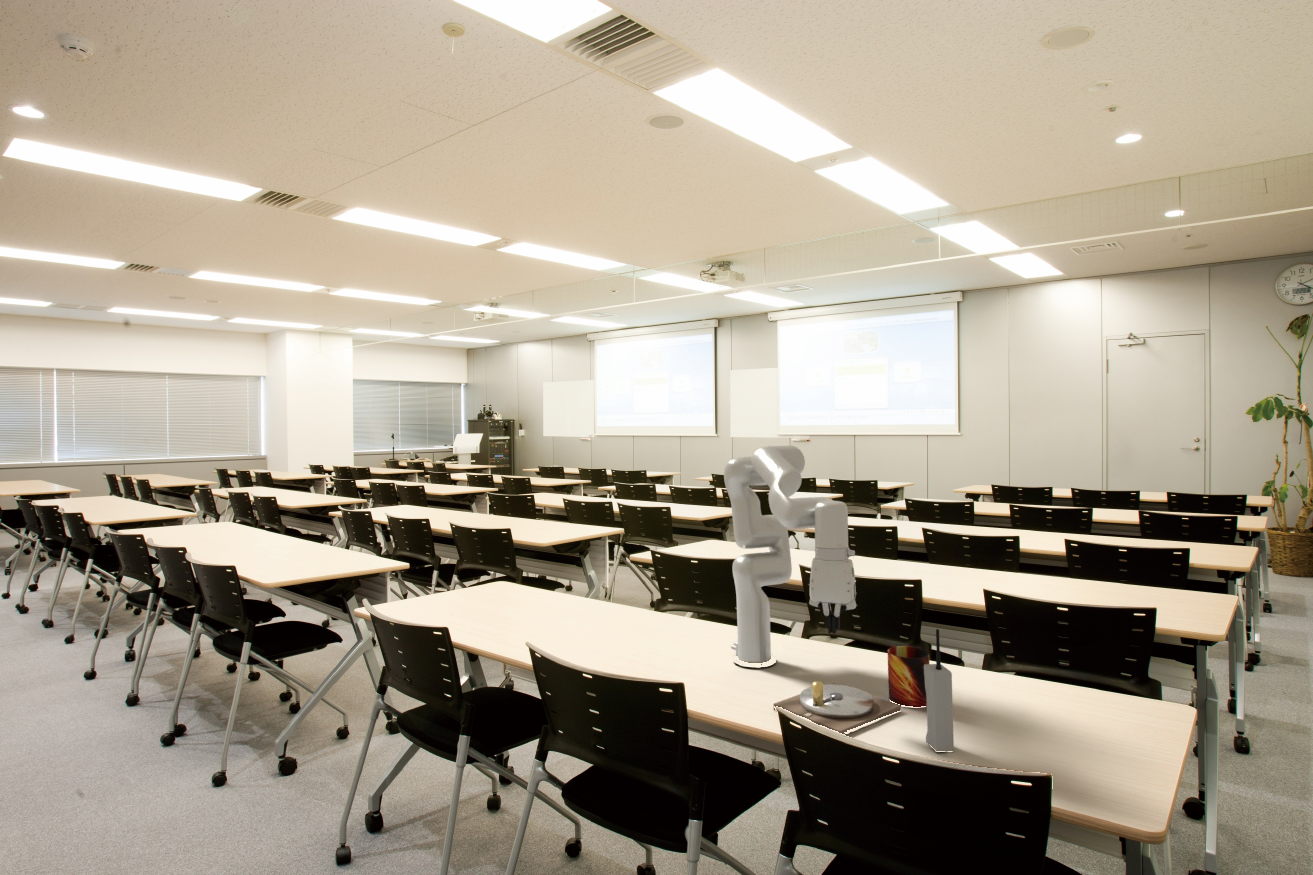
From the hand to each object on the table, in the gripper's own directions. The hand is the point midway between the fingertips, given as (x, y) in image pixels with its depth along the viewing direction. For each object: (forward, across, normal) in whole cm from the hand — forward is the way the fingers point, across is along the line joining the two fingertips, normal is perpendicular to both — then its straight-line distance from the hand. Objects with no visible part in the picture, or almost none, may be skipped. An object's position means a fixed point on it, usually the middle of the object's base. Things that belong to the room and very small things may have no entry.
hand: (832, 631), depth 160 cm
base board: (+20, 0, -3) cm, 20 cm away
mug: (+20, -17, -15) cm, 30 cm away
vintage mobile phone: (+20, -23, +9) cm, 32 cm away
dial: (+18, 0, -3) cm, 18 cm away
